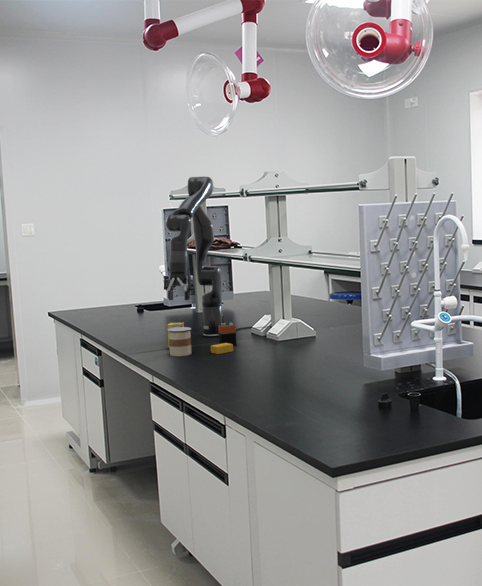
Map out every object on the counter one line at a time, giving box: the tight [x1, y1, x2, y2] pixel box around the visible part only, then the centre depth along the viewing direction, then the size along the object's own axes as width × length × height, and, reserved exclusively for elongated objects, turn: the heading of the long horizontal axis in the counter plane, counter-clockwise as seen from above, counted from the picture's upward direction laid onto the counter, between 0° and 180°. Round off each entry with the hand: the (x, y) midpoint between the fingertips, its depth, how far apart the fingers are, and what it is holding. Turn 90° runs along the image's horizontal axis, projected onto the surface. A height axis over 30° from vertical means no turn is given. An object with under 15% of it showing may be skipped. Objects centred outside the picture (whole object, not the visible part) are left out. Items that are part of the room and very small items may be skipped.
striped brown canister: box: [168, 326, 193, 357], centre depth 294 cm, size 10×10×11 cm
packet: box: [210, 343, 234, 355], centre depth 296 cm, size 8×5×3 cm, turn 132°
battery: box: [218, 322, 237, 346], centre depth 310 cm, size 4×7×10 cm, turn 116°
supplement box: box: [166, 321, 185, 349], centre depth 308 cm, size 6×6×11 cm
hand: (178, 300), depth 298 cm, fingers open, 8 cm apart
